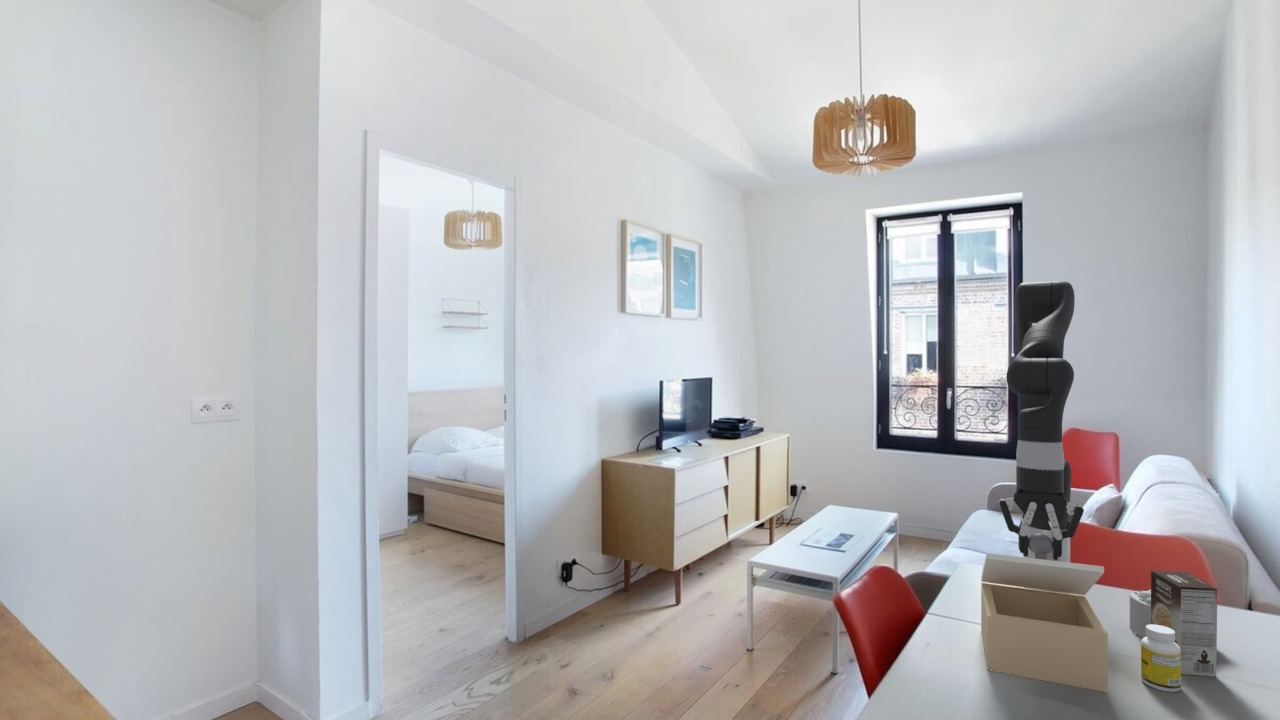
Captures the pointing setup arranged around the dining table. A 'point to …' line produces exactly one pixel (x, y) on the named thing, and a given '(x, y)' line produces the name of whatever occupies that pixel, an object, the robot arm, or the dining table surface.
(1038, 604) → the carton
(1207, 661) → the coffee box
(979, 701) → the dining table surface
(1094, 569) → the lid
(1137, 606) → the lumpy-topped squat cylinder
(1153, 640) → the supplement bottle
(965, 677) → the dining table surface
